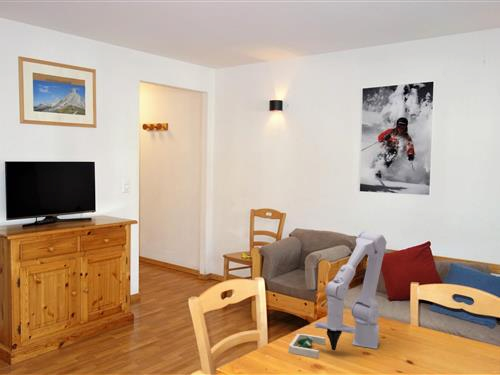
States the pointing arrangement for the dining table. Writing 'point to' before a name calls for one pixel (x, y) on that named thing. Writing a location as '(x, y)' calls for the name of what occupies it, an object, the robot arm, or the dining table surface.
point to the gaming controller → (305, 342)
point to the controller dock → (305, 351)
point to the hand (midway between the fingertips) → (333, 349)
